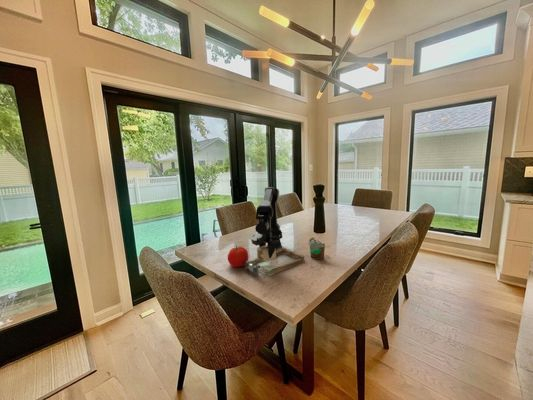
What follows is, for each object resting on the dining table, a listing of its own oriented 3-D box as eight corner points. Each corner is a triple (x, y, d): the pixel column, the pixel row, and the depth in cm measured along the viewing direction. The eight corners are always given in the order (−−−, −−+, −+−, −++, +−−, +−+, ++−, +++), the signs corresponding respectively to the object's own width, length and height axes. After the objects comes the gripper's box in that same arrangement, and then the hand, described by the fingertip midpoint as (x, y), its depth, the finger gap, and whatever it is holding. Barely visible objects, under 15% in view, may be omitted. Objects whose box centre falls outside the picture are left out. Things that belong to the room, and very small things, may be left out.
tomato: (239, 258, 131) (238, 242, 130) (253, 263, 124) (252, 246, 122) (223, 266, 122) (222, 248, 121) (237, 272, 115) (236, 253, 113)
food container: (304, 254, 134) (304, 238, 132) (313, 252, 136) (313, 237, 134) (316, 262, 122) (315, 245, 121) (325, 260, 124) (325, 243, 123)
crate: (257, 258, 119) (256, 247, 118) (269, 254, 124) (269, 244, 123) (263, 262, 114) (263, 251, 114) (276, 257, 119) (275, 247, 118)
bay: (248, 264, 123) (248, 259, 123) (283, 252, 138) (283, 247, 138) (267, 276, 109) (267, 271, 109) (304, 261, 124) (304, 256, 124)
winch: (243, 270, 117) (243, 259, 116) (253, 266, 121) (252, 256, 120) (257, 279, 107) (256, 267, 106) (267, 275, 111) (266, 263, 110)
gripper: (243, 227, 119) (244, 254, 122) (263, 235, 104) (264, 266, 107) (260, 223, 126) (261, 249, 128) (281, 230, 111) (282, 259, 113)
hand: (266, 255), depth 119 cm, fingers closed on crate, 6 cm apart
